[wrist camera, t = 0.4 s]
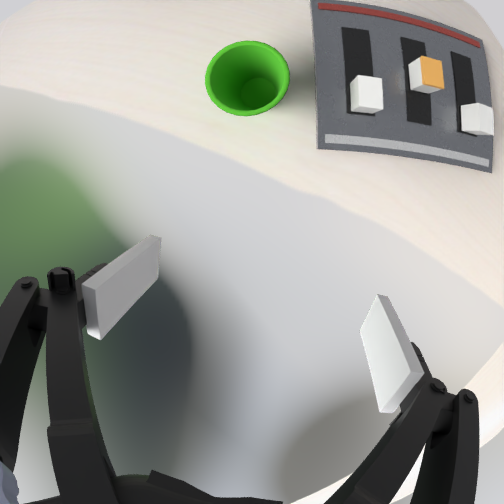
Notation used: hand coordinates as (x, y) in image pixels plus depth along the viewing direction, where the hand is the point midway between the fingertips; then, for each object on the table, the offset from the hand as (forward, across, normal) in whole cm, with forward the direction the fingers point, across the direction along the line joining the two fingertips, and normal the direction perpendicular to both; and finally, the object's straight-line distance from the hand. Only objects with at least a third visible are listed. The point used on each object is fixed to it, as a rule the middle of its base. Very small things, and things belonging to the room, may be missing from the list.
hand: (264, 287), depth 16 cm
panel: (+26, +14, +24) cm, 38 cm away
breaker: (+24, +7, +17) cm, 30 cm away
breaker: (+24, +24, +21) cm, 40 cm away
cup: (+27, -7, +14) cm, 31 cm away
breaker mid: (+24, +15, +24) cm, 37 cm away
